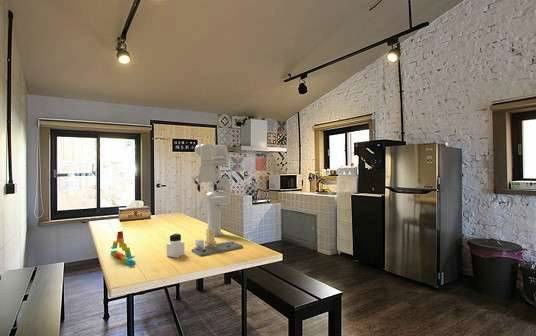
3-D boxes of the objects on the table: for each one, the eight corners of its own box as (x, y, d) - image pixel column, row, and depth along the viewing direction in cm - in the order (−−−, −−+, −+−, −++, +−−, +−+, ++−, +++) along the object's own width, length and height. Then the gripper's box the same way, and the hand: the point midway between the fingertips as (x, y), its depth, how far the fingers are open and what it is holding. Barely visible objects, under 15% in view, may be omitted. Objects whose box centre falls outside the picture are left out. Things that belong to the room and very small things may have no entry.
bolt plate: (191, 251, 178) (191, 240, 178) (232, 243, 195) (232, 233, 195) (200, 256, 169) (200, 244, 169) (242, 247, 186) (242, 237, 186)
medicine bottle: (184, 254, 173) (184, 233, 173) (175, 257, 167) (174, 236, 167) (176, 252, 177) (175, 232, 177) (166, 256, 170) (166, 234, 170)
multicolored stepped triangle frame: (136, 264, 157) (135, 235, 156) (129, 266, 154) (129, 237, 154) (116, 253, 178) (116, 227, 178) (110, 254, 176) (110, 228, 176)
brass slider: (205, 245, 183) (204, 229, 183) (212, 244, 186) (212, 228, 186) (211, 249, 176) (211, 231, 176) (219, 247, 179) (218, 230, 179)
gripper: (219, 164, 195) (219, 190, 195) (191, 164, 189) (192, 191, 188) (221, 163, 188) (222, 191, 188) (193, 163, 182) (193, 192, 181)
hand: (207, 191), depth 188 cm, fingers open, 9 cm apart
